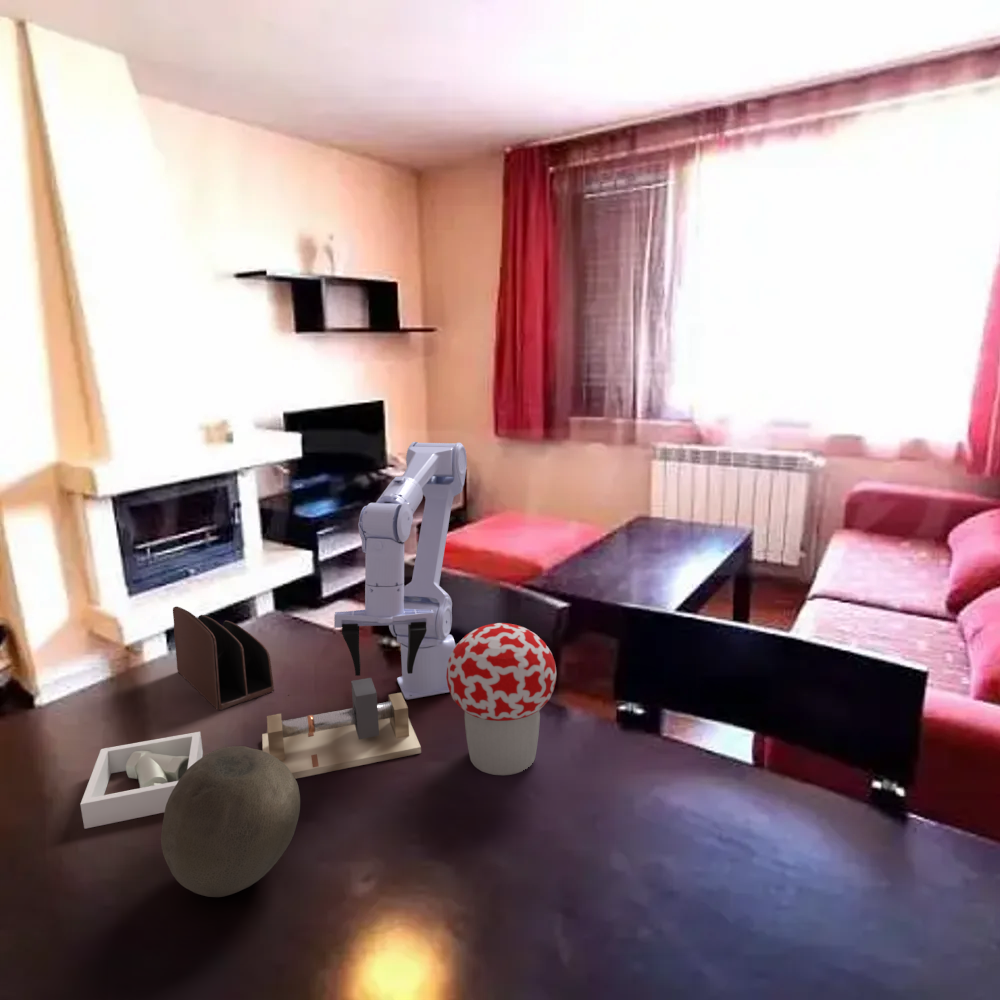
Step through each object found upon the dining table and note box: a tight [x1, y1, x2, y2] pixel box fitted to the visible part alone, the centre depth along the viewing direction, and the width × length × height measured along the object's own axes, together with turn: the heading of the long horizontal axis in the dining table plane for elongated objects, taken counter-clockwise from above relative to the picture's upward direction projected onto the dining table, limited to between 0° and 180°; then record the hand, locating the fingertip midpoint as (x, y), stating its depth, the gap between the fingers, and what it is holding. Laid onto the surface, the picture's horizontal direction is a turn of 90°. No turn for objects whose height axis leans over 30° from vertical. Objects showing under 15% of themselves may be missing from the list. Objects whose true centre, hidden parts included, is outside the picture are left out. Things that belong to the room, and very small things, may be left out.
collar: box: [350, 677, 379, 739], centre depth 105 cm, size 3×5×7 cm, turn 19°
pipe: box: [282, 701, 393, 738], centre depth 104 cm, size 20×3×3 cm, turn 109°
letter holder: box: [172, 606, 275, 711], centre depth 125 cm, size 10×20×14 cm, turn 43°
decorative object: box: [446, 622, 557, 776], centre depth 100 cm, size 16×16×20 cm
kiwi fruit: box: [160, 745, 301, 898], centre depth 78 cm, size 14×14×15 cm
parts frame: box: [79, 731, 204, 830], centre depth 95 cm, size 13×13×4 cm
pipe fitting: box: [125, 751, 189, 788], centre depth 96 cm, size 8×4×7 cm
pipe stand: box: [261, 692, 422, 780], centre depth 104 cm, size 22×12×6 cm, turn 109°
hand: (383, 672), depth 105 cm, fingers open, 7 cm apart
